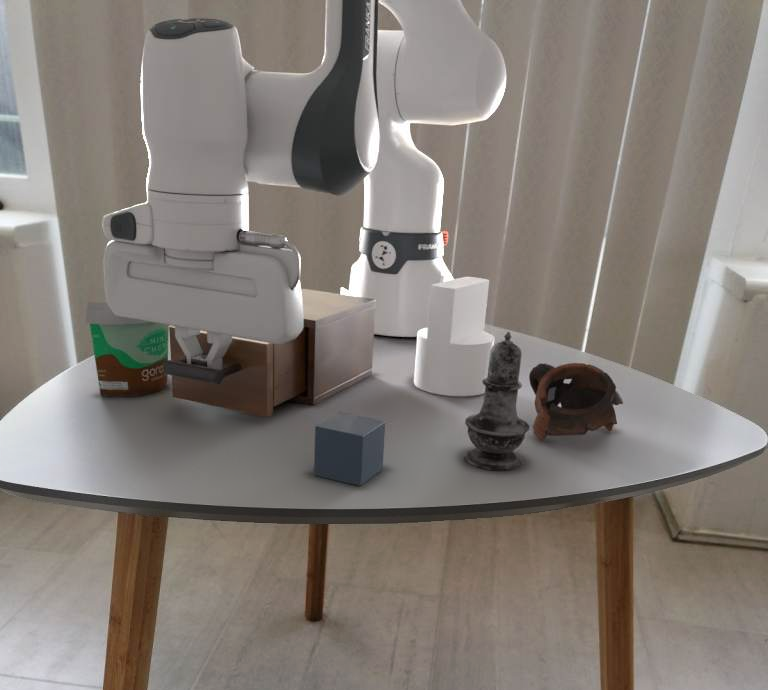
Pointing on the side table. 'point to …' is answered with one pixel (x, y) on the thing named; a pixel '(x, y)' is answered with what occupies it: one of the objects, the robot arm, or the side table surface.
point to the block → (349, 448)
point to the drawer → (242, 374)
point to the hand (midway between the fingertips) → (205, 374)
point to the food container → (127, 352)
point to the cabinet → (336, 342)
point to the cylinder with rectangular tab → (454, 339)
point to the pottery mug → (572, 399)
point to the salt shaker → (498, 412)
